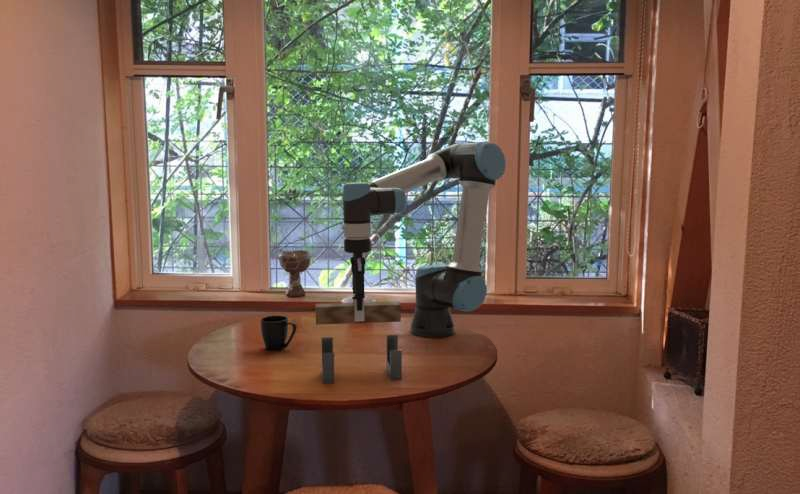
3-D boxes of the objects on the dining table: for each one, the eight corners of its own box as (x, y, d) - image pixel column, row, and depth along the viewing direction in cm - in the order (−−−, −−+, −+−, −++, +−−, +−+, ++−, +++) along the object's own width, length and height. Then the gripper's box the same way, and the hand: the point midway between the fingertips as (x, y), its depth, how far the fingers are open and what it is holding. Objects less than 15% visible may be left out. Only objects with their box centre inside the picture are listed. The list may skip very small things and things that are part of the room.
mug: (287, 355, 188) (286, 324, 187) (256, 349, 194) (255, 320, 193) (303, 348, 196) (302, 318, 194) (273, 343, 201) (272, 314, 200)
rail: (398, 318, 182) (398, 301, 182) (400, 321, 179) (400, 304, 178) (315, 320, 179) (315, 303, 178) (315, 324, 175) (315, 307, 174)
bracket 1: (333, 372, 174) (332, 337, 172) (334, 382, 165) (333, 346, 164) (322, 372, 173) (321, 337, 172) (322, 383, 165) (322, 346, 164)
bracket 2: (397, 369, 176) (397, 334, 175) (401, 379, 168) (401, 343, 167) (386, 369, 176) (386, 335, 174) (390, 380, 168) (390, 343, 166)
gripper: (342, 234, 183) (343, 312, 187) (345, 242, 166) (347, 327, 170) (367, 233, 184) (369, 311, 188) (373, 241, 168) (375, 326, 171)
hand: (358, 318), depth 179 cm, fingers closed on rail, 4 cm apart
